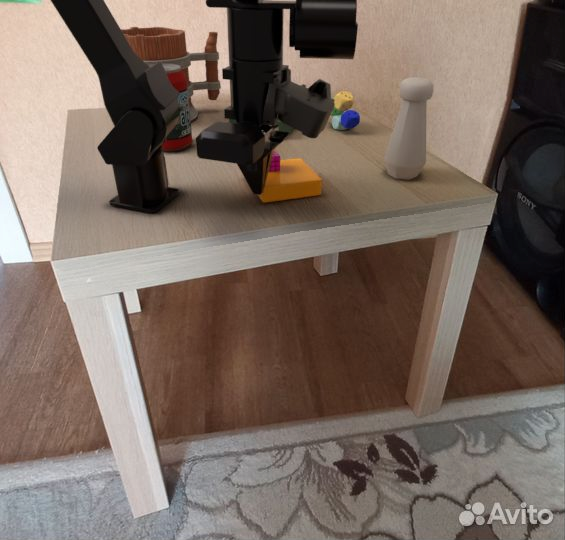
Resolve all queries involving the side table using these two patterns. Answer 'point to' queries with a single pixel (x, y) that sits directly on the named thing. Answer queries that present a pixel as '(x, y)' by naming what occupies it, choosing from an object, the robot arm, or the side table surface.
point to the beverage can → (182, 129)
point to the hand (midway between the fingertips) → (257, 193)
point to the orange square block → (290, 180)
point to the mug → (177, 56)
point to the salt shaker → (409, 130)
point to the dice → (344, 118)
